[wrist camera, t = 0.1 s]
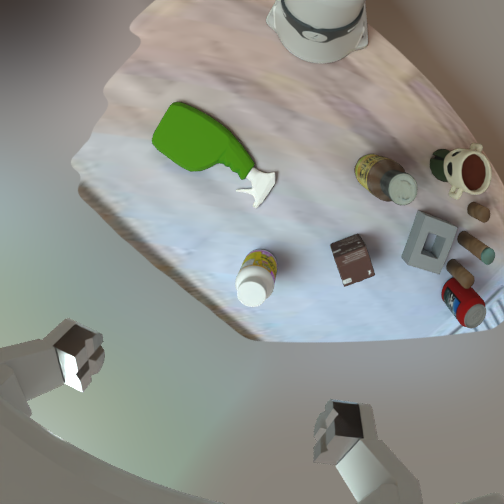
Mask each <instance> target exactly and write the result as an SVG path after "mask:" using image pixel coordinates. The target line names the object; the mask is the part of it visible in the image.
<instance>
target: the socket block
mask: <svg viewBox="0 0 504 504" xmlns="http://www.w3.org/2000/svg"><path fill="white" fill-rule="evenodd" d="M457 229H458V227H456V226H454V225H453V224H451V223H450V222H448V221H445V220H442V219H440V218H437V217H435V216H432V215H429V214H427V213H424V212H421V211H419V210H418V212H417V215H416V218H415V221H414V224H413V227H412V229H411V232H410V235H409V238H408V241H407V243H406V246H405V249H404V251H403V254H402V259H403V260H404V261H405V262H406V263H407V265H410V266H413V267H417V268H420V269H423V270H427V271H430V272H433V273H437V274H440V272H441V270H442V267H443V265H444V263H445V260H446V258H447V255H448V253H449V250H450V248H451V245H452V242H453V240H454V237H455V234H456V231H457ZM428 232H429V233H432V234H435V235H437V236H436V239H435V242H434V244H433V247H432V250H431V252H428V251H425V250H422V249H423V246H424V243H425V241H426V238H427V235H428Z"/></svg>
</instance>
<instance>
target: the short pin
mask: <svg viewBox="0 0 504 504" xmlns="http://www.w3.org/2000/svg"><path fill="white" fill-rule="evenodd" d="M467 211H468V214H469V215H470V216H472V217H474V218H476V219H478V220H479V221H481V222H484V223H485V222H487V221H488V220H489V218H490V210H489V209H488V208H486V207H484V206H482V205H480V204H477V203H475V202H471V203H470V204H469V205H468V208H467Z"/></svg>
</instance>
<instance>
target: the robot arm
mask: <svg viewBox="0 0 504 504" xmlns="http://www.w3.org/2000/svg"><path fill="white" fill-rule="evenodd" d="M365 1H366V0H276V2H275V3H274V5H273V7H272V9H271V11H270V12H269V14H268V16H267V18H266V23H267V24H268V26H269V27H270V28H272V29H273V30H274V31H276V33H277V34H278V36H279V38H280V40H281V42H282V44H283V45H284V46H285V48H286V49H287V50H288V51H289V52H291V53H292V54H293V55H295V56H296V57H298V58H300V59H302V60H305V61H308V62H312V63H331V62H335V61H338V60H340V59H342V58H344V57H345V56H346V55H348V54H349V53H350V52H352V51H354V50H359V49H363V48H365V47H366V46H367V44H368V31H367V17H366V5H365ZM273 15H274V17H273ZM362 36H363V38H362ZM102 342H103V336H102V334H101V333H99V332H97V331H95V330H93V329H91V328H89V327H87V326H85V325H82V324H80V323H78V322H76V321H74V320H72V319H70V318H67V319H65V320H64V321H62V322H61V323H60V324H59V325H58V326H57V327H56V328H55V329H54V330H52V331H51V332H50V333H49V334H48V335H47V336H46V337H45V338H44V339H43V340H40V339H37V340H32V341H28V342H24V343H20V344H16V345H11V346H7V347H3V348H0V504H225V503H220V502H217V501H212V500H209V499H205V498H201V497H197V496H194V495H190V494H187V493H183V492H180V491H177V490H174V489H171V488H168V487H165V486H162V485H159V484H157V483H154V482H151V481H149V480H146V479H143V478H141V477H138V476H136V475H134V474H131V473H129V472H126V471H124V470H122V469H120V468H117V467H115V466H113V465H111V464H109V463H107V462H104V461H102V460H100V459H98V458H96V457H94V456H92V455H90V454H89V453H87V452H85V451H83V450H81V449H79V448H77V447H76V446H74V445H72V444H70V443H69V442H67V441H65V440H64V439H62V438H60V437H58V436H57V435H55V434H54V433H52V432H51V431H49V430H47V429H46V428H44V427H43V426H41V425H40V424H38V423H37V422H35V421H34V420H32V419H31V418H30V416H31V414H32V413H31V409H30V407H29V405H28V403H27V401H28V400H30V399H33V398H35V397H37V396H40V395H42V394H44V393H46V392H49V391H51V390H53V389H55V388H58V387H60V386H62V385H64V383H65V384H67V385H69V386H71V387H73V388H75V389H77V390H79V391H81V392H84V390H85V389H86V388H87V386H88V385H89V384H90V383H91V381H92V379H91V375H94V374H96V373H98V372H99V371H100V369H101V368H102V365H103V363H104V358H105V353H104V349H103V348H102V346H101V344H102ZM314 438H315V440H316V441H317V443H316V445H315V446H314V460H313V462H314V463H323V464H330V465H336V468H337V469H338V471H339V473H340V474H341V476H342V477H343V479H344V481H345V482H346V484H347V486H348V487H349V489H350V490H351V492H352V494H353V495H354V497H355V499H356V500H357V502H358V503H357V504H423V500H422V494H421V489H420V483H419V480H418V479H417V478H416V477H415V476H414V475H413V474H412V473H411V472H410V471H409V470H408V468H407V467H406V466H405V465H404V464H403V463H402V462H401V461H400V460H399V459H398V458H397V456H396V455H395V454H394V453H393V452H392V451H391V450H390V449H389V448H388V447H387V445H386V444H385V443H384V442H383V441H382V440H378V436H377V431H376V425H375V420H374V415H373V410H372V406H371V405H370V404H363V403H355V402H347V401H340V400H333V399H330V400H329V401H328V402H327V403H326V405H325V411H324V412H322V413H320V415H319V417H318V418H317V421H316V424H315V428H314ZM455 504H504V496H503V495H502V494H500V493H491V494H487V495H485V496H481V497H478V498H475V499H471V500H467V501H463V502H459V503H455Z"/></svg>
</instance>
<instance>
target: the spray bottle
mask: <svg viewBox="0 0 504 504" xmlns="http://www.w3.org/2000/svg"><path fill="white" fill-rule="evenodd" d="M152 144H153V145H154V146H155V147H156V149H157V150H159V151H160V152H161V153H163V154H164V155H165V156H167V157H168V158H169V159H171V160H172V161H173V162H175V163H176V164H178V165H179V166H181V167H182V168H184V169H186V170H189V171H202V170H205V169H208V168H210V167H212V166H214V165H215V164H217V163H222V164H224V165H225V166H227V167H230V168H231V170H232V171H233V172H236V173H238V175H239V177H240V179H241V180H243V179H245V178H247V179H249V180H250V181H252V186H253V188H251V189H238V190H236V192H243V193H248V194H251V195H253V196H254V198H255V200H256V201H255V202H254V204H253V207H255V208H258V206H259V205H260V203H261V204H262V202H263V201H264V199H265V198H266V196H267V195H268V193H269V192H270V190H271V189H272V187H273V186H274V184H275V172H271V173H264V172H261V171H258V170H257V169H255V168H254V164H255V163H254V162H253V160H252V159H251V157H250V156H249V154H248V153H247V152H246V150H245V149H244V148H243V146H242V145H241V144H240V143H239V142H238V140H237V139H236V138H235V137H234V136H233V134H232V133H231V132H230V131H229V130H228V129H226V128H225V127H224V126H223V125H222V124H220V123H219V122H217V121H216V120H215V119H213V118H212V117H210V116H209V115H207V114H205V113H203V112H201V111H199V110H197V109H195V108H193V107H191V106H189V105H186V104H184V103H181V102H174V103H172V104H171V105H170V107H169V108H168V110H167V112H166V113H165V115H164V116H163V118H162V120H161V121H160V123H159V125H158V127H157V128H156V130H155V132H154V134H153V138H152Z"/></svg>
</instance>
